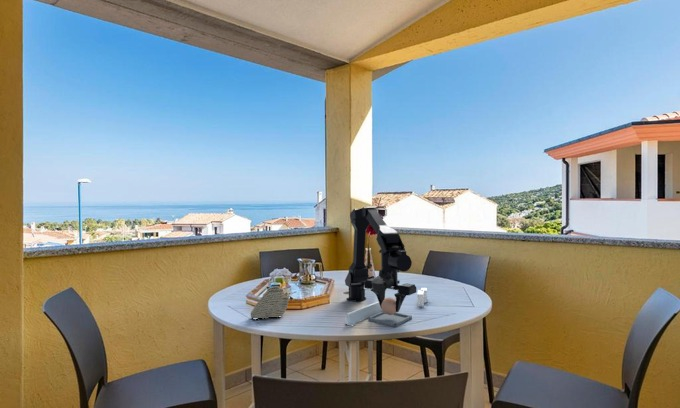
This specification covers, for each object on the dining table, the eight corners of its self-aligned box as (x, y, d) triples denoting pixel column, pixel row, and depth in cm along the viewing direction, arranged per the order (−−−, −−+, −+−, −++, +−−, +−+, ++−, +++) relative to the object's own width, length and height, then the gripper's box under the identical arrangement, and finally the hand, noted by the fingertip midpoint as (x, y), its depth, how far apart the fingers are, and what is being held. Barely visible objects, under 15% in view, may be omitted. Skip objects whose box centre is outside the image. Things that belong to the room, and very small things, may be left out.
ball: (378, 314, 127) (377, 298, 127) (387, 310, 131) (387, 294, 131) (392, 318, 123) (392, 301, 123) (401, 314, 127) (401, 297, 127)
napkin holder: (422, 310, 140) (422, 295, 140) (401, 303, 149) (401, 290, 149) (446, 303, 148) (446, 289, 148) (425, 297, 158) (424, 284, 158)
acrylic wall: (344, 324, 123) (344, 313, 123) (380, 309, 139) (380, 299, 139) (351, 326, 121) (351, 314, 121) (386, 310, 137) (386, 300, 137)
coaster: (368, 320, 126) (368, 317, 126) (385, 312, 135) (385, 310, 135) (395, 327, 119) (395, 324, 119) (411, 318, 128) (411, 315, 128)
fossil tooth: (250, 320, 132) (289, 311, 138) (253, 324, 127) (293, 315, 132) (246, 289, 133) (286, 282, 138) (249, 292, 127) (290, 284, 132)
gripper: (355, 267, 127) (355, 310, 127) (400, 273, 115) (401, 321, 115) (372, 263, 136) (373, 303, 136) (416, 268, 123) (417, 313, 124)
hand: (389, 310), depth 127 cm, fingers closed on ball, 6 cm apart
